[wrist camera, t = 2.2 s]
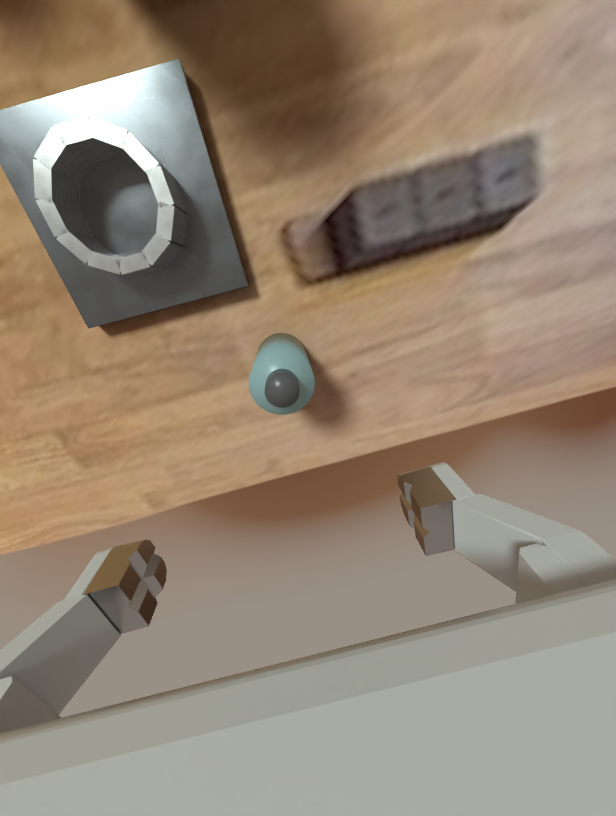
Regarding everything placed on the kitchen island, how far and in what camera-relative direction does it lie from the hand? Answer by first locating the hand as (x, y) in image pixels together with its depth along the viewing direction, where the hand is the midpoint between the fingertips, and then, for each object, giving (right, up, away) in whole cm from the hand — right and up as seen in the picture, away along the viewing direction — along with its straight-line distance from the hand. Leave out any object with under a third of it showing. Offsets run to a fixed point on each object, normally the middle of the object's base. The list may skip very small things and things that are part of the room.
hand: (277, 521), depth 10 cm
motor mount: (-13, +19, +14) cm, 27 cm away
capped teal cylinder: (-2, +9, +19) cm, 21 cm away
